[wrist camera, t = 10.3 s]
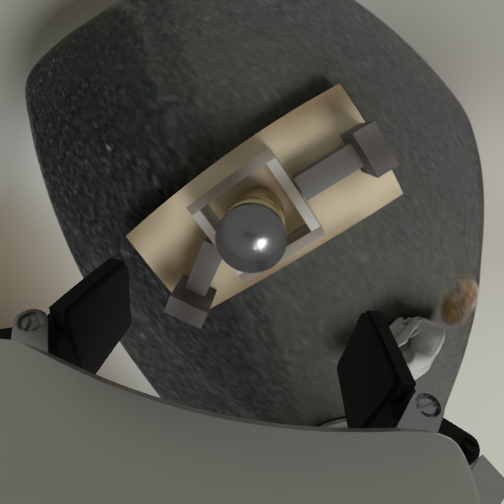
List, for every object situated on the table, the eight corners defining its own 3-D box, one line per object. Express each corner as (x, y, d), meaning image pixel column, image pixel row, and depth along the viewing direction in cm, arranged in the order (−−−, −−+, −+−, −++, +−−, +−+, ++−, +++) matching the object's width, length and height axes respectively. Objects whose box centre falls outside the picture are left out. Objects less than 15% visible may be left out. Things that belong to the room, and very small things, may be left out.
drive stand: (394, 189, 23) (424, 204, 17) (198, 307, 30) (183, 341, 24) (334, 87, 20) (352, 72, 15) (134, 229, 27) (104, 251, 21)
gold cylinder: (294, 218, 23) (301, 249, 17) (252, 245, 24) (243, 284, 18) (263, 176, 22) (258, 190, 15) (221, 206, 23) (200, 232, 17)
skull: (446, 349, 27) (404, 425, 22) (392, 333, 34) (345, 398, 29) (451, 306, 24) (408, 393, 18) (388, 292, 31) (334, 363, 26)
